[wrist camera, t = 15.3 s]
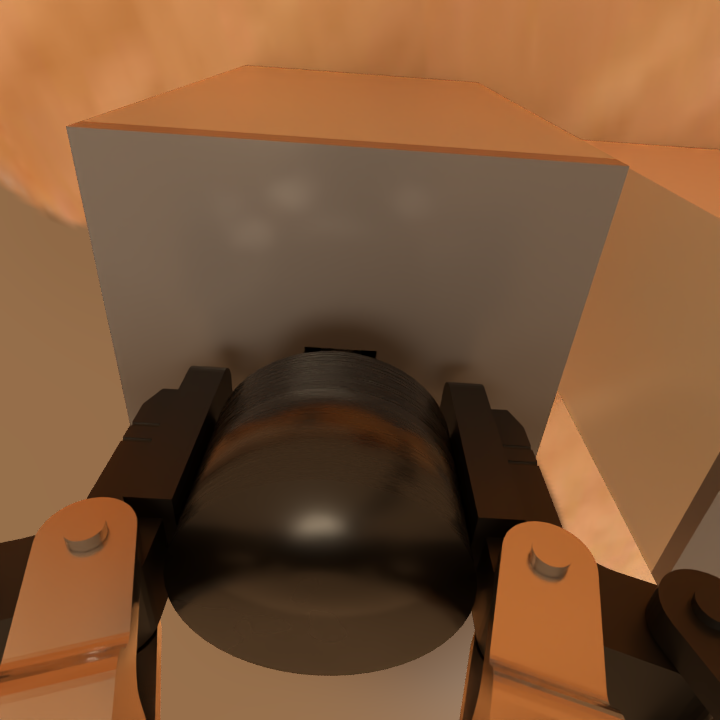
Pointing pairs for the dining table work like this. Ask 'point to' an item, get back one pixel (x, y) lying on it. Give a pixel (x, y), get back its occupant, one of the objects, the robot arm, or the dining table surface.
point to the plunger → (325, 521)
